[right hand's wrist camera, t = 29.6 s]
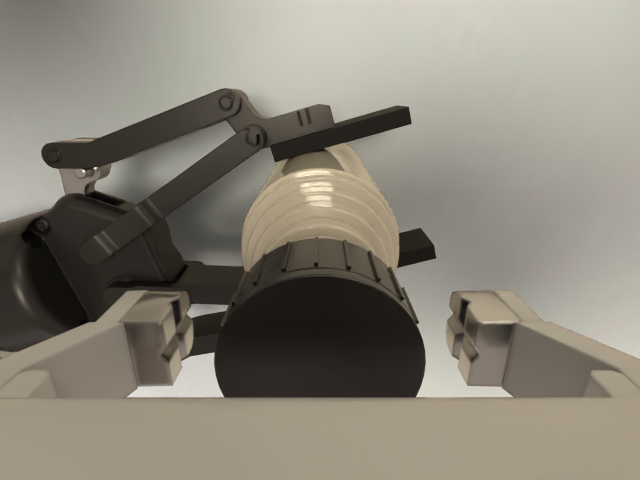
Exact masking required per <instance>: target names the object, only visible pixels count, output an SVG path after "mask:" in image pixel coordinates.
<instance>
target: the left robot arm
mask: <svg viewBox="0 0 640 480" xmlns="http://www.w3.org/2000/svg"><path fill="white" fill-rule="evenodd" d="M225 120H227V122H228V123H229V124H230V126H231V127H232V128H233V130H234V131H235V132H236V134H235V135H234V136H232V137H231V138H229V139H228V140H227V141H225V142H224V143H223V144H221V145H220V146H218V147H217V148H216V149H214V150H213V151H212V152H210V153H209V154H207V155H206V156H205V157H203V158H202V159H201V160H199V161H198V162H196V163H195V164H194V165H192V166H191V167H190V168H188V169H187V170H185V171H184V172H183V173H181V174H180V175H178V176H177V177H176V178H174V179H173V180H172V181H170V182H169V183H167V184H166V185H165V186H163V187H162V188H161V189H159V190H158V191H156V192H155V193H154V194H152V195H151V196H150V197H148V198H147V199H145V200H144V201H142V202H141V203H139V204H138V205H137V204H134V203H131V202H128V201H125V200H122V199H119V198H116V197H113V196H110V195H107V194H104V193H101V192H98V191H96V190H94V185H95V183H96V181H97V180H100V179H102V178H105V177H107V176H108V175H109V173H110V168H111V163H114V162H117V161H120V160H123V159H126V158H130V157H133V156H135V155H138V154H141V153H143V152H146V151H148V150H151V149H153V148H156V147H158V146H161V145H164V144H166V143H169V142H171V141H174V140H176V139H179V138H181V137H184V136H187V135H189V134H192V133H194V132H197V131H199V130H202V129H204V128H207V127H210V126H212V125H215V124H217V123H220V122H222V121H225ZM409 124H412V123H411V117H410V112H409V107H406V106H394V107H390V108H387V109H383V110H380V111H376V112H373V113H370V114H366V115H363V116H359V117H356V118H352V119H349V120H345V121H342V122H338V123H335V124H334V121H333V117H332V113H331V109H330V106H329V105H321V104H317V105H314V106H310V107H307V108H304V109H300V110H297V111H293V112H290V113H287V114H283V115H280V116H276V117H272V118H267V117H264V116H262V115H260V114H259V113H258V112H257V111H256V110H255V108H254V107H253V105H252V104H251V103H250V101H249V99H248V97H247V95H246V94H245V93H244V92H243V91H241V90H237V89H227V88H225V89H220V90H217V91H215V92H212V93H210V94H207V95H205V96H202V97H200V98H197V99H195V100H192V101H190V102H188V103H185V104H183V105H180V106H178V107H175V108H173V109H170V110H168V111H165V112H163V113H160V114H158V115H155V116H153V117H150V118H148V119H145V120H143V121H140V122H138V123H135V124H133V125H130V126H128V127H125V128H123V129H120V130H118V131H116V132H113V133H111V134H108V135H106V136H103V137H101V138H77V139H71V140H65V141H59V142H53V143H48V144H46V145H45V146H43V148H42V151H41V152H42V158H43V160H44V161H45V162H46V164H47V165H49V166H51V167H52V168H57V169H59V170H60V174H61V178H62V183H63V187H64V191H65V196H63V197H61V198H60V199H59V200H58V201H57V202H56V204H55V205H54V206H53V207H52V208H51V209H48V210H44V211H41V212H37V213H34V214H30V215H27V216H24V217H20V218H17V219H13V220H10V221H6V222H3V223H0V359H2V358H4V357H7V356H9V355H11V354H14V353H16V352H19V351H21V350H23V349H26V348H28V347H31V346H33V345H36V344H38V343H40V342H43V341H45V340H48V339H50V338H52V337H55V336H57V335H60V334H62V333H64V332H67V331H69V330H72V329H74V328H76V327H79V326H81V325H84V324H86V323H89V322H96V321H97V320H98V319H99V318H100V317H101V316H102V315H103V314H104V313H105V312H106V311H107V310H108V309H109V308H110V307H111V306H112V305H113V304H114V303H115V302H116V301H117V300H118V299H120V298H121V297H122V296H123V295H124V294H125V293H126V292H127V291H136V290H148V291H186V292H187V293H188V295H189V298H190V304H220V305H229V304H230V301H231V299H232V297H233V295H234V292H236V291H237V289H238V287H239V284H240V282H241V280H242V277H243V275H244V273H245V270H244V267H238V266H214V265H204V264H203V263H202V262H199V261H183V258H182V256H181V254H180V253H179V251H178V250H177V249H176V248H175V246H174V245H173V244H172V241H171V235H170V229H169V227H168V225H167V222H166V220H165V218H164V217H165V216H167V215H168V214H170V213H171V212H173V211H174V210H175V209H177V208H178V207H180V206H181V205H182V204H184V203H185V202H187V201H188V200H190V199H191V198H192V197H194V196H195V195H197V194H198V193H200V192H201V191H202V190H204V189H205V188H207V187H208V186H209V185H211V184H212V183H214V182H215V181H217V180H218V179H219V178H221V177H222V176H224V175H225V174H227V173H228V172H229V171H231V170H232V169H234V168H235V167H236V166H238V165H239V164H241V163H242V162H244V161H245V160H246V159H248V158H249V157H251V156H252V155H253V154H255V153H256V152H258V151H259V150H261V149H263V148H266V147H270V148H271V151H272V154H273V157H274V160H275V162H278V161H282V160H285V159H289V158H292V157H296V156H299V155H303V154H306V153H310V152H314V151H317V150H321V149H324V148H328V147H331V146H335V145H338V144H342V143H345V142H349V141H352V140H356V139H359V138H363V137H367V136H370V135H374V134H377V133H381V132H384V131H388V130H391V129H395V128H398V127H402V126H405V125H409ZM435 258H436V255H435V249H434V245H433V244H432V242H431V241H430V240H429V238H428V237H427V236H426V234H425V233H424V232H423V230H422V229H421V228H418V229H415V230H411V231H407V232H403V233H399V259H398V265H397V268H398V267H403V266H407V265H411V264H415V263H419V262H423V261H427V260H431V259H435ZM225 313H226V311H223V312H218V313H212V314H206V315H201V316H197V317H194V318H191V319H192V320H193V325H194V339H193V344H192V348H191V350H190V353H189V355H188V356H187V357H185V358H183V359H182V360H184V359H186V358H188V357H190V356H195V355H201V354H207V353H213V352H215V347H216V342H217V339H218V336H219V333H220V331H221V329H219V327H220V324H221V322H222V320H223V317H224V315H225ZM182 360H181V361H182Z"/></svg>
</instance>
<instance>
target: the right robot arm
mask: <svg viewBox="0 0 640 480" xmlns="http://www.w3.org/2000/svg"><path fill="white" fill-rule="evenodd" d="M190 307H191V304H190V298H189V295H188V293H187V292H186V291H148V290H136V291H127V292H126V293H125V294H124V295H123V296H122V297H121V298H120V299H118V300H117V301H116V302H115V303H114V304H113V305H112V306H111V307H110V308H109V309H108V310H107V311H106V312H105V313H104V314H103V315H102V316H101V317H100V318H99V319H98V320H97V321H96V322H89V323H86V324H84V325H81V326H79V327H76V328H74V329H72V330H69V331H67V332H64V333H62V334H60V335H57V336H55V337H52V338H50V339H48V340H45V341H43V342H40V343H38V344H36V345H33V346H31V347H28V348H26V349H23V350H21V351H19V352H16V353H14V354H11V355H9V356H7V357H4V358H2V359H0V480H640V359H638V358H636V357H633V356H631V355H628V354H626V353H624V352H621V351H619V350H616V349H614V348H612V347H609V346H607V345H604V344H602V343H600V342H597V341H595V340H592V339H590V338H587V337H585V336H583V335H580V334H578V333H575V332H573V331H571V330H568V329H566V328H563V327H561V326H559V325H556V324H554V323H551V322H544V321H543V320H542V319H541V318H540V317H539V316H538V315H537V314H536V313H535V312H534V311H533V310H532V309H531V308H530V307H529V306H528V305H527V304H526V303H525V302H524V301H523V300H522V299H521V298H520V297H519V296H518V295H517V294H516V293H515V292H514V291H510V290H500V291H493V290H492V291H456V292H453V293H452V295H451V298H450V304H449V307H450V309H451V310H452V312H453V315H452V316H451V317H450V318H449V319H448V320H447V326H446V339H447V344H448V348H449V351H450V353H451V355H452V356H453V357H455V358H457V359H458V360H459V363H458V368H459V370H460V372H461V374H462V376H463V378H464V380H465V382H466V384H467V386H501V387H502V388H503V389H504V390H506V391H507V392H508V393H509V394H511V395H512V396H513V397H196V398H126V397H127V396H128V395H129V394H131V393H132V392H133V391H135V390H136V389H137V388H138V387H139V386H173V384H174V382H175V380H176V378H177V376H178V374H179V372H180V370H181V368H182V363H181V360H182V359H183V358H185V357H187V356H188V355H189V353H190V350H191V348H192V344H193V339H194V325H193V320H192V319H191V318H190V317H189V316H188V315H187V312H188V310H189V309H190Z"/></svg>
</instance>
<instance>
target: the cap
mask: <svg viewBox="0 0 640 480" xmlns="http://www.w3.org/2000/svg"><path fill="white" fill-rule="evenodd" d="M418 323H419V321H418V319H417V317H416V314H415V312H414V310H413V308H412V305H411V303H410V301H409V298H408V296H407V294H406V291H405V289H404V287H403V288H401V286H400V284H399V282H398V280H397V279H396V277H395V274H394V272H393V269H392V268H391V267H388V266H387V265H386V264H385V263H384V262H383V261H382V260H381V259H379V258H378V257H377V256H375V255H374V254H373V252H372V251H371V250H369V251H368V250H366V249H364V248H362V247H360V246H357V245H355V244H352V243H350V242H347V240H343V241H342V240H337V239H329V238H318V237H315V238H311V239H303V240H298V241H294V242H290V241H289V242H287V244H285V245H283V246H280V247H278V248H276V249H274V250H273V251H271V252H269V253H267V254H266V253H264V254H263V255H262V258H261V259H259V260H258V261H257V262H256V263H255V264H254V265H253V266H252V267H251V269H250V270H249V271H248V272H247V271H245V273H244V275H243V277H242V280H241V282H240V284H239V287H238V289H237V291H236V292H234V295H233V297H232V299H231V301H230V304H229V306H228V308H227V310H226V313H225V315H224V317H223V320H222V322H221V324H220V327H219V329H221V331H220V333H219V336H218V339H217V342H216V347H215V356H214V365H215V373H216V377H217V381H218V384H219V387H220V389H221V391H222V393H223V396H224V397H416V396H417V393H418V391H419V389H420V387H421V384H422V380H423V377H424V372H425V363H426V360H425V348H424V344H423V339H422V337H421V334H420V332H419V329H418V327H417V324H418Z"/></svg>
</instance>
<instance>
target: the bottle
mask: <svg viewBox="0 0 640 480" xmlns="http://www.w3.org/2000/svg"><path fill="white" fill-rule="evenodd" d="M315 237H318V238H329V239H337V240H342V241H343V240H347V242H350V243H352V244H355V245H357V246H360V247H362V248H364V249H366V250H368V251H369V250H371V251H372V252H373V254H374V255H375V256H377V257H378V258H379V259H381V260H382V261H383V262H384V263H385V264H386V265H387V266H388V267H391V268H392V269H393V272H394V274H395V271H396V268H397V265H398V259H399V232H398V226H397V222H396V219H395V217H394V214H393V212H392V210H391V208H390V206H389V205H388V203H387V201H386V200H385V198H384V196H383V195H382V193H381V192H380V190H379V188H378V187H377V185H376V184H375V182H374V180H373V179H372V177H371V176H370V174H369V172H368V171H367V169H366V168H365V166H364V165H363V163H362V161H361V160H360V158H359V157H358V155H357V154H356V152H355V151H354V150H353V149H352V148H351V147H350V146H349V145H347V144H346V143H342V144H338V145H335V146H331V147H328V148H324V149H321V150H317V151H314V152H310V153H306V154H303V155H299V156H296V157H292V158H289V159H285V160H282V161H280V162H279V163H278V165H277V166H276V168H275V169H274V171H273V173H272V174H271V176H270V177H269V179H268V180H267V182H266V184H265V185H264V187H263V188H262V190H261V191H260V193H259V195H258V196H257V198H256V199H255V201H254V202H253V204H252V206H251V207H250V209H249V211H248V213H247V216H246V218H245V221H244V225H243V230H242V246H241V254H242V262H243V266H244V270H245V271H247V272H248V271H249V270H250V269H251V267H252V266H253V265H254V264H255V263H256V262H257V261H258V260H259V259H261V258H262V255H263V254H264V253H266V254H267V253H269V252H271V251H273V250H274V249H276V248H278V247H280V246H283V245H285V244H287V242H289V241H290V242H294V241H298V240H303V239H311V238H315Z"/></svg>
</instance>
